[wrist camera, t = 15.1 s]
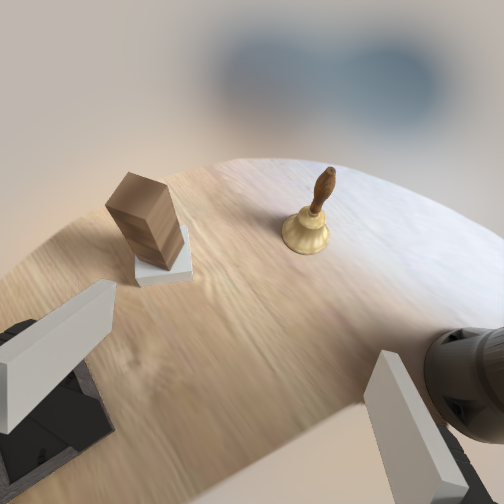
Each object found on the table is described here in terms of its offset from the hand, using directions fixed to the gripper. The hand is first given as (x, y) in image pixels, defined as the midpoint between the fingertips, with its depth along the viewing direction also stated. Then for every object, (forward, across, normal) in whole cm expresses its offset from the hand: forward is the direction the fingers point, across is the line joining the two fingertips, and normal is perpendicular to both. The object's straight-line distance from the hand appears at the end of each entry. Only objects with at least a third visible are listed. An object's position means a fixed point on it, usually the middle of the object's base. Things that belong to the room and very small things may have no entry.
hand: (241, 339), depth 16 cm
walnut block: (+32, -15, -9) cm, 36 cm away
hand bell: (+43, +6, -4) cm, 43 cm away
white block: (+35, -15, -12) cm, 40 cm away
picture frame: (+19, -24, -28) cm, 42 cm away
